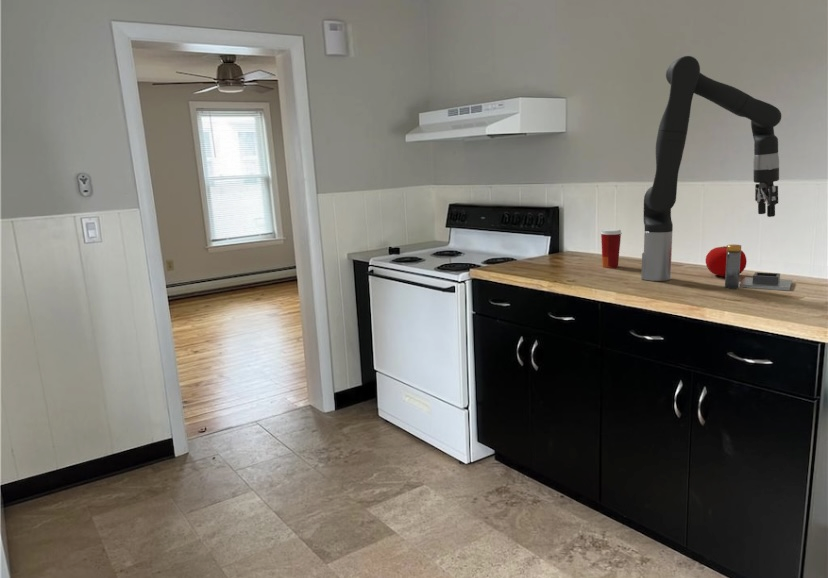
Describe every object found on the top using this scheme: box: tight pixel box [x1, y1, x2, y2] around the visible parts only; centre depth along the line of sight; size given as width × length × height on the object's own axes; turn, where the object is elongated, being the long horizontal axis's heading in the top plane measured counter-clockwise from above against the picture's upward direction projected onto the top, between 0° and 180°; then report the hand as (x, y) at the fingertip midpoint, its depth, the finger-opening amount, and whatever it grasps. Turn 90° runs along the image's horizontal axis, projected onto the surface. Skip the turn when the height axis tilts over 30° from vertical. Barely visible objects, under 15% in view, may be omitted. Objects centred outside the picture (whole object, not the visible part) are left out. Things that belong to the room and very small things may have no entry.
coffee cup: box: [599, 228, 622, 269], centre depth 246 cm, size 8×8×15 cm
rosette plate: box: [739, 271, 793, 291], centre depth 200 cm, size 14×14×4 cm
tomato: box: [705, 246, 747, 278], centre depth 218 cm, size 12×13×11 cm
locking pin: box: [724, 244, 742, 290], centre depth 197 cm, size 4×4×14 cm
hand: (766, 215), depth 209 cm, fingers open, 8 cm apart
